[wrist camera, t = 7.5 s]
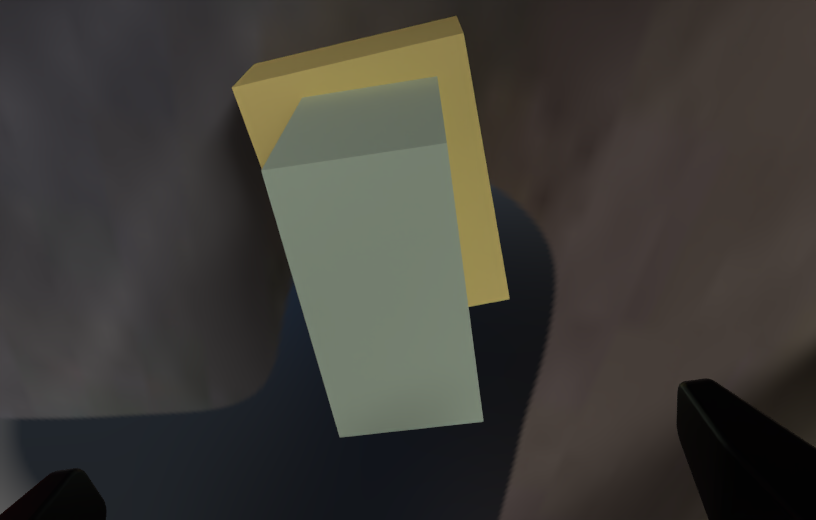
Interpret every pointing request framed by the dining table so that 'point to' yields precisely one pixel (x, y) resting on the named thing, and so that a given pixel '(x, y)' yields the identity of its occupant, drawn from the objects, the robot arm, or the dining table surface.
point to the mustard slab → (384, 64)
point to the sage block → (378, 256)
